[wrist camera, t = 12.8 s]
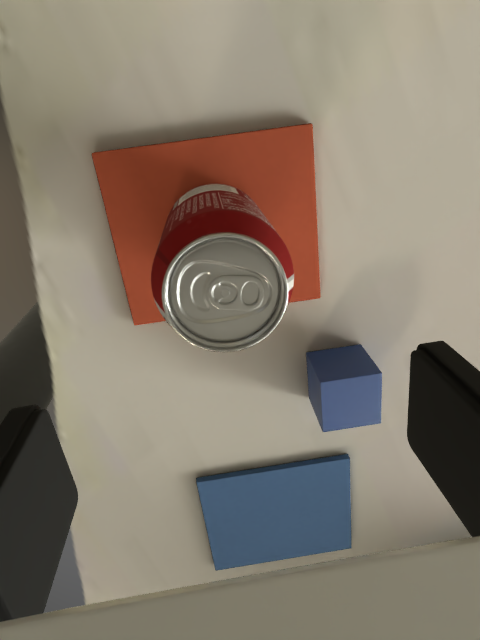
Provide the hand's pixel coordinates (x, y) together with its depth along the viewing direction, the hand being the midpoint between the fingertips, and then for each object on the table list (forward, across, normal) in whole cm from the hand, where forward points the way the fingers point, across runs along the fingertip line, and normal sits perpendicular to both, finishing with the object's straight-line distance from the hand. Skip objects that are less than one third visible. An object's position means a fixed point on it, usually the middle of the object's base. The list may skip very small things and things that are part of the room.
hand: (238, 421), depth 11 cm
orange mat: (+21, 0, 0) cm, 21 cm away
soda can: (+21, 0, 0) cm, 21 cm away
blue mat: (+21, -2, +28) cm, 35 cm away
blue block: (+21, -8, +13) cm, 26 cm away
